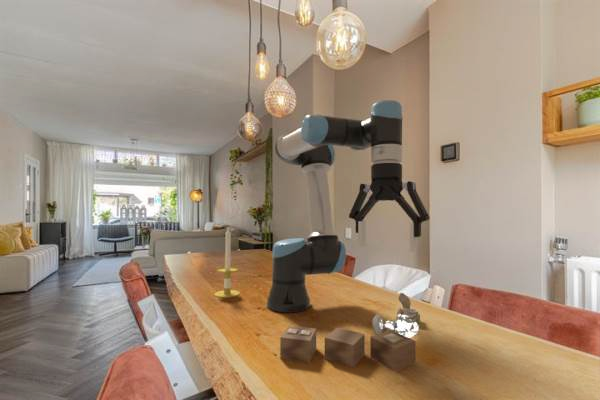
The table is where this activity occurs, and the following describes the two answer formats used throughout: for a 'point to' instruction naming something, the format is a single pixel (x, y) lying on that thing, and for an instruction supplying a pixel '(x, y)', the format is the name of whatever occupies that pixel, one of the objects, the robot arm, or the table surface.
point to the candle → (227, 271)
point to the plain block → (345, 347)
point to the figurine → (397, 325)
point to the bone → (407, 308)
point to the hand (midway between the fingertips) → (386, 248)
